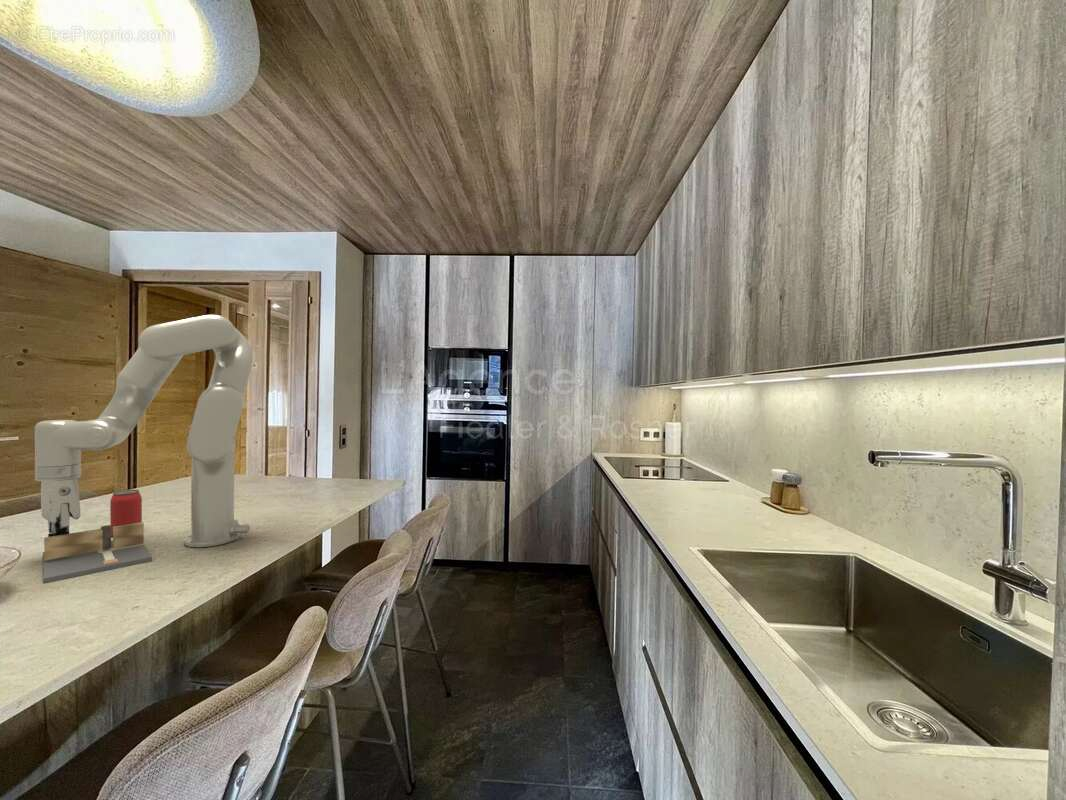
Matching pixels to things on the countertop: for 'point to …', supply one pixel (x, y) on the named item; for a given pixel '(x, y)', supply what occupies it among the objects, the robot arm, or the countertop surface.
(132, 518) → the beer can
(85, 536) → the fence gate
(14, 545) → the countertop surface
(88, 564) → the card
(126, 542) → the bar
